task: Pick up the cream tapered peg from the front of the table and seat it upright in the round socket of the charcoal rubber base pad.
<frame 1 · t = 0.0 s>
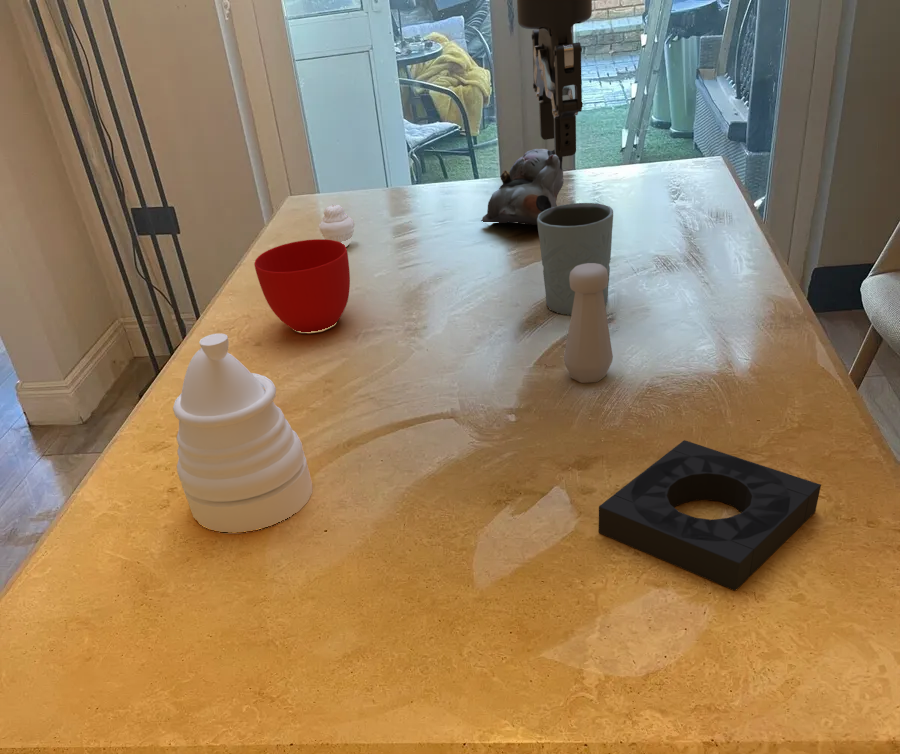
hand: (557, 146, 94), 23 cm above the table, tool pointing down, fingers open, 8 cm apart
honey pot: (253, 499, 90), on the table
lucky cat figurine: (524, 226, 148), on the table
ceramic cup: (322, 320, 125), on the table
drinking glass: (575, 303, 120), on the table
muffin: (340, 247, 150), on the table
base pad: (706, 522, 78), on the table
cream tapered peg: (588, 376, 103), on the table
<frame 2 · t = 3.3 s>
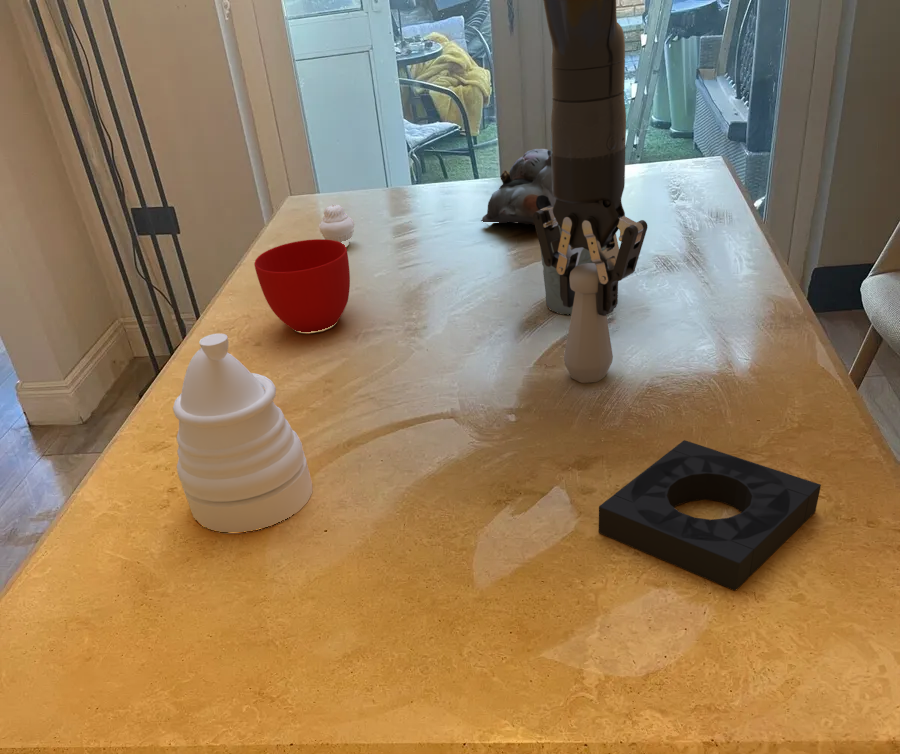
hand: (588, 308, 97), 8 cm above the table, tool pointing down, fingers closed on cream tapered peg, 4 cm apart
cream tapered peg: (588, 376, 103), on the table, touching gripper
everything else where it was.
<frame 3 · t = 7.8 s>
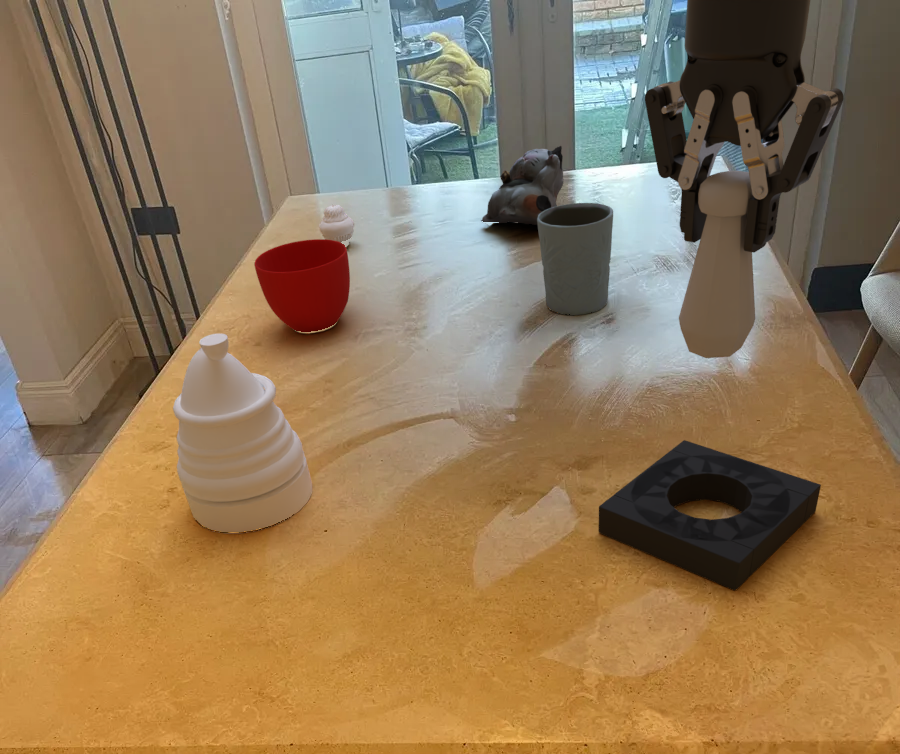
hand: (724, 242, 64), 24 cm above the table, tool pointing down, fingers closed on cream tapered peg, 4 cm apart
cream tapered peg: (713, 349, 69), point 16 cm above the table, touching gripper
everything else where it was.
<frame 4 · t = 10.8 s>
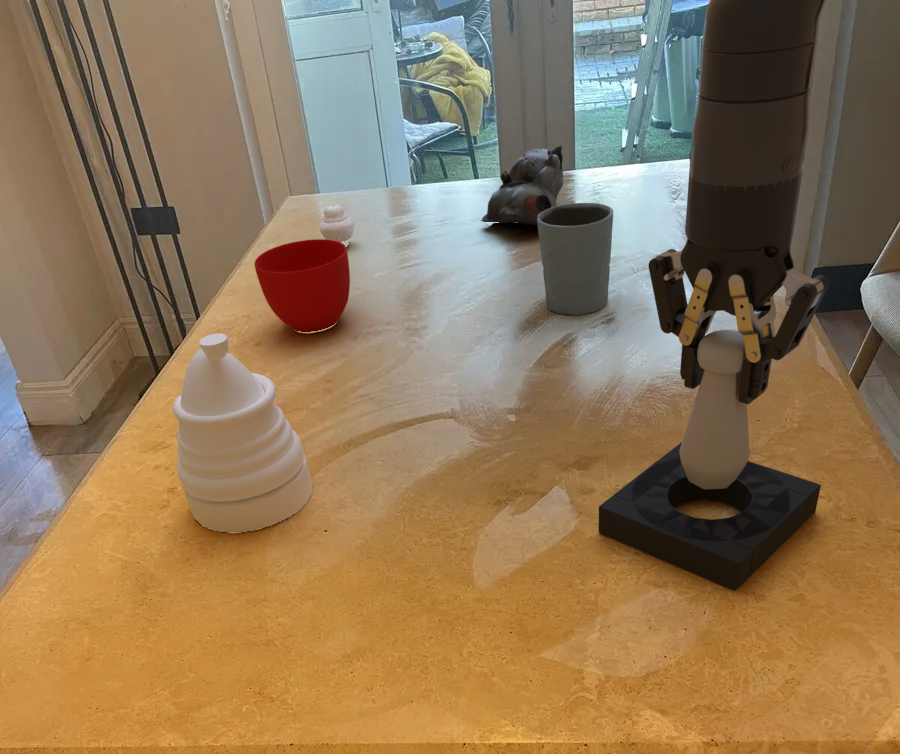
hand: (721, 390, 69), 13 cm above the table, tool pointing down, fingers closed on cream tapered peg, 4 cm apart
cream tapered peg: (711, 478, 75), point 5 cm above the table, touching gripper
everything else where it was.
when the fingers open (8 cm above the table, at t = 12.6 s): cream tapered peg stays where it is, resting in base pad.
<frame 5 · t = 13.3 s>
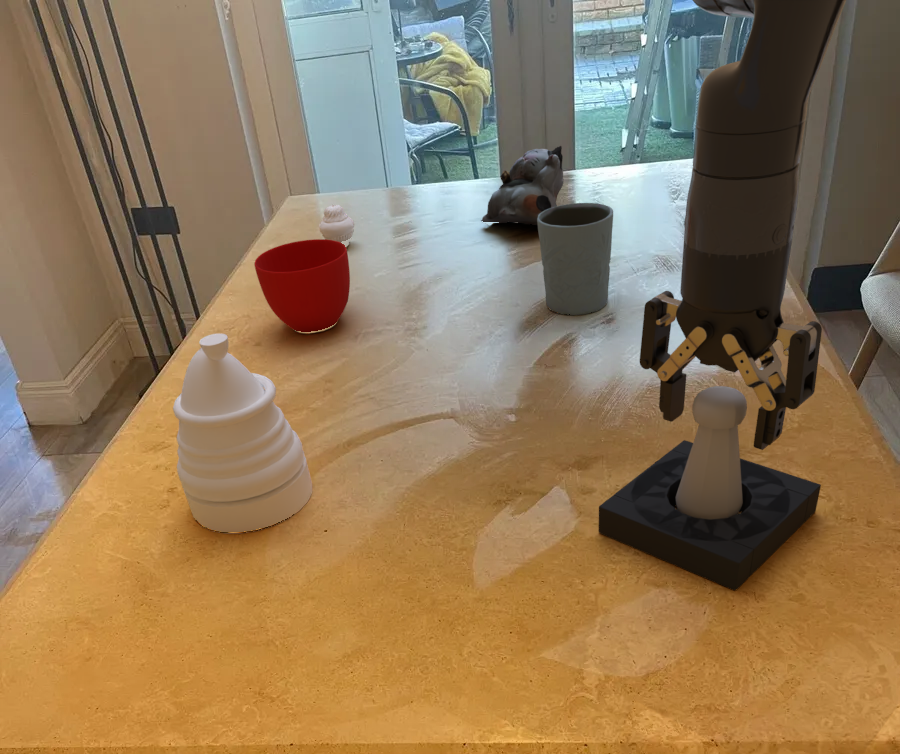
hand: (716, 430, 72), 10 cm above the table, tool pointing down, fingers open, 8 cm apart
cream tapered peg: (706, 524, 78), resting in base pad
everything else where it was.
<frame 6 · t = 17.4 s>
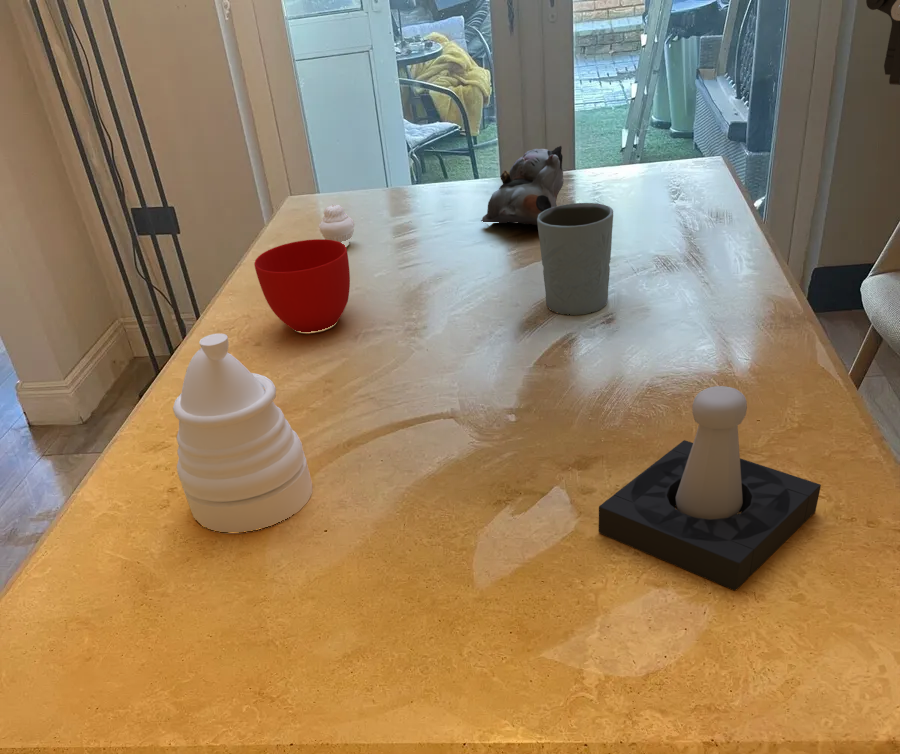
nothing on the table moved.
at the end: cream tapered peg 0.0 cm off-centre in the base pad, point 0.0 cm above the base pad's base; cream tapered peg tilted 0°; the gripper is holding nothing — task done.
